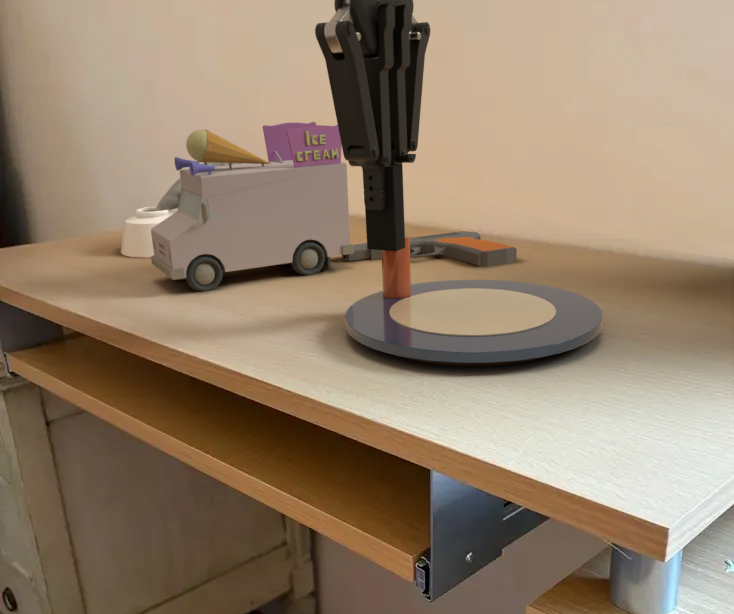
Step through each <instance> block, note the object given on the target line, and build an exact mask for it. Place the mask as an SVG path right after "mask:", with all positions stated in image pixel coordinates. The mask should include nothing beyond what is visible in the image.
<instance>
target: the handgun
mask: <svg viewBox="0 0 734 614" xmlns="http://www.w3.org/2000/svg"><path fill="white" fill-rule="evenodd" d="M353 245H354V253H353V254H347V255H341V257H342V260H344V261H345V262H348V263H350V262H356V261H357V262H358V261H366V260H371V261H375V260H376V261H377V260H382V253H381V250H373V249H367V242H364V243H356V244H355V243H354V244H353ZM517 251H518V250H517V248H516V247H514V246H511V245H509V244H504V243H500V242H496V241H491V240H485V239H481V235H480V233H479V232H476V231H466V230H465V231H464V230H462V231H454V232H446V233H438V234H431V235H422V236H414V237H410V258H417V257H427V256H431V257H437V258H442V259H443V258H444V259H453V260H457V261H460V262H463V263H466V264H471V265H473V266H476V267H479V268H481V267H492V266H493V267H494V266H500V265H506V264H510V263H514V262H517V253H518V252H517Z"/></svg>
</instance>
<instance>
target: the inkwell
mask: <svg viewBox="0 0 734 614" xmlns="http://www.w3.org/2000/svg"><path fill="white" fill-rule="evenodd" d="M201 164H203V165H205V163H204V162H201ZM238 164H242V163H231V165H238ZM207 165H209V166H214V167H217V166H227V165H229V163H210V162H207ZM180 191H181V179H180V177H179V178H178V179H177V180H176V181H175V182H174V183H173V184H172V185H171V186H170V187H169V188H168V190H167V191H166V192H165V194H164V195H163V196H162V197H161V198H160V200H159V202H158V203H157V205H154V206H153V205H152V206H145V207H141V208H137V209H135V211H134V214H135V215H133V216H130V217H127V218H126V219H125V220H124V223H123V229H122V237H121V245H120V254H122V255H123V256H125V257H131V258H144V259H145V258H151V256H153V255H154V250H153V243H152V235H151V229H152V228H153V227H154V226H156V225H157V224H159V223H160V222H162V221H163V220H165V219H166V218H168V217H169V216H171V215H172V214H174V213H175V212H174V211H175V210H176V209H178V205H179V202H178V192H179V195H180Z"/></svg>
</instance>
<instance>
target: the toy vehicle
mask: <svg viewBox="0 0 734 614" xmlns="http://www.w3.org/2000/svg"><path fill="white" fill-rule="evenodd" d="M262 131H263V138H264V143H265V149H266V154H267V159H268V161H267V160H265V159H263V158H261V157H260V156H258V155H256V154H253V153H251V152H250V151H248V150H246V149H244V148H242V147H240V146H238V145H237V144H234V143H232V142H231V141H229V140H227V139H225V138H223V137H221V136H219V135H217V134H216V133H213V132H212V131H210V130H208V129H197V130H194V131H192V132H191V133H190V134H189V135H188V137H187V139H186V142H185V144H186V145H185V147H186V151H187V153H188V155H189V156H190V157H191V158H192V159H193V160H192V159H191V160H190V159H185V158H181V157H177V156H175V157H174V167H175V170H176V171H179V178H180V179H181V191H180V195H179V192H178V202H179V205H178V208H177V210H176V211H175V212H173V213H174V214H172V215H171V216H169V217H168V218H166V219H165V220H163V221H162V222H160V223H159V224H157V225H156V226H154V227H153V228H152V229H151V235H152V243H153V250H154V255H153V256H151V257H150V261H151V264H152V265H153V266H154V267H156V268H157V269H158V270H159V271H161V272H162V273H163V274H165V275H166V276H167V277H169V278H170V279H171V280H173V281H176V280H185V281H186V283H187V285H188V286H189V287H190V288H191V289H192V290H194V291H195V292H209V291H213V290H215V289H217V288H218V286H219V285H220V283H221V281H222V280H223V275H224V273H223V272H225V273H228V272H235V271H242V270H249V269H250V270H251V269H257V268H262V267H263V268H264V267H269V266H271V267H272V266H276V265H282V266H288V265H290V266H291V268H292V269H293V270H294V272H296V274H299V275H300V276H312V275H316V274H318V273H319V272H320V271H321V270H322V269H323V268H325V269H330V268H331V258H332V257H336V256H342V255H347V254H353V253H354V245H355V244H352V243H351V235H350V210H349V189H348V188H349V187H348V168H347V167H348V166H347V165H348V164H347V162H343V161H342V144H341V139H340V134H339V128H338V124H335V125H320V124H317V122H315V121H311V122H307V123H305V122H282V123H277V124H273V125H267V124H264V125H262ZM207 162H210V163H229V165H227V166H217V167H214V166H209V165H207ZM202 163H205V165H203V164H202ZM231 163H241V164H238V165H231ZM184 168H185V169H184Z"/></svg>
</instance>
